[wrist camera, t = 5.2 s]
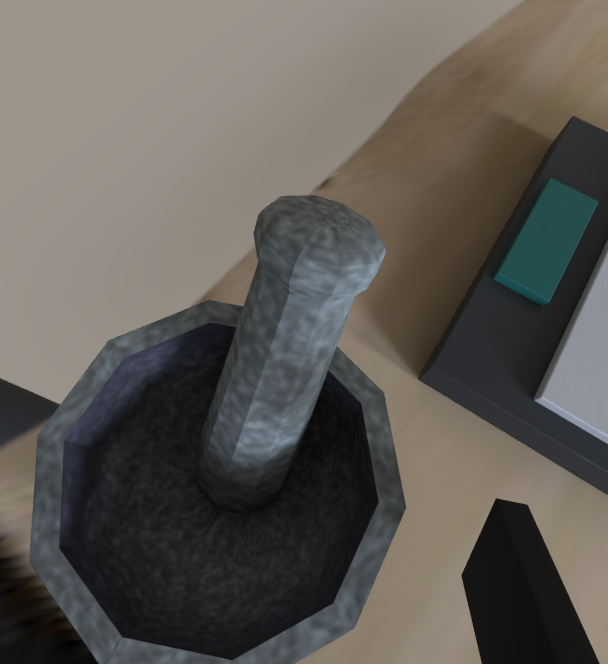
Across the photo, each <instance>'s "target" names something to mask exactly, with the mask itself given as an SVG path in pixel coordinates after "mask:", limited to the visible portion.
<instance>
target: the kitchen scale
mask: <svg viewBox="0 0 608 664" xmlns="http://www.w3.org/2000/svg"><path fill="white" fill-rule="evenodd" d="M418 379H419V380H420V381H422V382H424V383H425V384H427V385H429V386H430V387H432V388H434V389H435V390H437V391H439V392H440V393H442V394H443V395H445V396H447V397H448V398H450V399H452V400H453V401H455V402H457V403H458V404H460V405H461V406H463V407H465V408H466V409H468V410H470V411H471V412H473V413H475V414H476V415H478V416H480V417H481V418H483V419H484V420H486V421H488V422H489V423H491V424H493V425H494V426H496V427H498V428H499V429H501V430H503V431H504V432H506V433H507V434H509V435H511V436H512V437H514V438H516V439H517V440H519V441H521V442H522V443H524V444H525V445H527V446H529V447H530V448H532V449H534V450H535V451H537V452H539V453H540V454H542V455H544V456H545V457H547V458H548V459H550V460H552V461H553V462H555V463H557V464H558V465H560V466H562V467H563V468H565V469H567V470H568V471H570V472H571V473H573V474H575V475H576V476H578V477H580V478H581V479H583V480H585V481H586V482H588V483H589V484H591V485H593V486H594V487H596V488H598V489H599V490H601V491H603V492H604V493H606V494H608V132H606V131H604V130H602V129H599V128H597V127H595V126H593V125H591V124H589V123H587V122H585V121H583V120H581V119H579V118H576V117H574V116H573V117H572V118H571V119H570V120H569V122H568V123H567V124H566V126H565V127H564V128H563V130H562V131H561V132H560V134H559V135H558V136H557V138H556V139H555V140H554V142H553V143H552V145H551V146H550V148H549V150H548V152H547V153H546V155H545V157H544V159H543V160H542V162H541V164H540V166H539V167H538V169H537V171H536V173H535V174H534V176H533V178H532V180H531V181H530V183H529V185H528V187H527V188H526V190H525V192H524V194H523V195H522V197H521V199H520V201H519V202H518V204H517V206H516V208H515V209H514V211H513V213H512V215H511V216H510V218H509V220H508V222H507V223H506V225H505V227H504V229H503V230H502V232H501V234H500V236H499V237H498V239H497V241H496V243H495V244H494V246H493V248H492V250H491V251H490V253H489V255H488V257H487V258H486V260H485V262H484V264H483V265H482V267H481V269H480V271H479V273H478V274H477V276H476V278H475V280H474V281H473V283H472V285H471V287H470V288H469V290H468V292H467V294H466V295H465V297H464V299H463V301H462V302H461V304H460V306H459V308H458V309H457V311H456V313H455V315H454V316H453V318H452V320H451V322H450V323H449V325H448V327H447V329H446V330H445V332H444V334H443V336H442V337H441V339H440V341H439V343H438V344H437V346H436V348H435V350H434V351H433V353H432V355H431V357H430V358H429V360H428V362H427V364H426V365H425V367H424V369H423V371H422V372H421V374H420V376H419V378H418Z"/></svg>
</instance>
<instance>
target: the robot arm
mask: <svg viewBox="0 0 608 664" xmlns="http://www.w3.org/2000/svg"><path fill="white" fill-rule="evenodd" d="M461 576H462V580H463V584H464V589H465V593H466V597H467V602H468V606H469V610H470V614H471V619H472V623H473V627H474V632H475V636H476V640H477V645H478V649H479V653H480V657H481V662H482V664H600V663H599V661H598V659H597V657H596V655H595V652H594V650H593V648H592V646H591V644H590V641H589V639H588V637H587V635H586V633H585V630H584V628H583V626H582V624H581V622H580V619H579V617H578V615H577V613H576V611H575V608H574V606H573V604H572V602H571V600H570V597H569V595H568V593H567V591H566V589H565V586H564V584H563V582H562V580H561V578H560V575H559V573H558V571H557V569H556V567H555V564H554V562H553V560H552V558H551V555H550V553H549V551H548V549H547V547H546V544H545V542H544V540H543V538H542V536H541V533H540V531H539V529H538V527H537V525H536V522H535V520H534V518H533V516H532V514H531V511H530V509H529V507H528V505H526V504H521V503H516V502H511V501H506V500H501V499H497V498H496V500H495V502H494V504H493V506H492V508H491V511H490V513H489V515H488V517H487V520H486V522H485V524H484V526H483V528H482V531H481V533H480V535H479V537H478V540H477V542H476V544H475V546H474V548H473V551H472V553H471V555H470V557H469V560H468V562H467V564H466V566H465V568H464V571H463V573H462V575H461Z"/></svg>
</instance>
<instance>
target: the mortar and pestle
mask: <svg viewBox="0 0 608 664" xmlns="http://www.w3.org/2000/svg"><path fill="white" fill-rule="evenodd" d="M254 240H255V246H256V252H257V258H258V260H259V262H258V265H257V268H256V271H255V274H254V277H253V280H252V283H251V286H250V289H249V292H248V295H247V298H246V301H245V304H244V307H243V306H237V305H232V304H227V303H221V302H216V301H210V300H208V301H205V302H203V303H200V304H198V305H195V306H193V307H191V308H188V309H186V310H183V311H181V312H178V313H176V314H173V315H171V316H168V317H166V318H163V319H161V320H158V321H156V322H154V323H151V324H149V325H146V326H143V327H141V328H138V329H136V330H133V331H131V332H129V333H126V334H124V335H121V336H118V337H116V338H114V339H111V340H109V341H108V342H107V344H106V345H105V346H104V347H103V349H102V350H101V351H100V353H99V354H98V356H97V357H96V358H95V360H94V361H93V362H92V363H91V365H90V366H89V367H88V369H87V370H86V371H85V373H84V374H83V376H82V377H81V378H80V379H79V381H78V382H77V383H76V385H75V386H74V388H73V389H72V390H71V392H70V393H69V394H68V396H67V397H66V398H65V400H64V401H63V402H62V404H61V405H60V406H59V408H58V409H57V410H56V412H55V413H54V414H53V416H52V417H51V418H50V420H49V421H48V422H47V424H46V425H45V426H44V428H43V429H42V430H41V432H40V433H39V434H38V441H37V455H36V470H35V485H34V500H33V515H32V529H31V544H30V559H29V562H30V564H31V565H32V567H33V568H34V570H35V571H36V573H37V574H38V576H39V577H40V578H41V580H42V581H43V583H44V584H45V586H46V587H47V589H48V590H49V592H50V593H51V594H52V596H53V597H54V599H55V600H56V602H57V603H58V605H59V606H60V608H61V609H62V611H63V612H64V613H65V615H66V616H67V618H68V619H69V621H70V622H71V624H72V625H73V627H74V628H75V629H76V631H77V632H78V634H79V635H80V637H81V638H82V640H83V641H84V643H85V644H86V646H87V647H88V648H89V650H90V651H91V653H92V654H93V656H94V657H95V659H96V660H97V662H98V663H99V664H294V663H296V662H297V661H299V660H301V659H303V658H304V657H306V656H308V655H309V654H311V653H313V652H315V651H316V650H318V649H320V648H322V647H323V646H325V645H327V644H328V643H330V642H332V641H334V640H335V639H337V638H339V637H341V636H342V635H344V634H346V633H347V632H349V631H351V630H353V629H354V628H355V626H356V623H357V621H358V619H359V616H360V614H361V612H362V609H363V607H364V605H365V602H366V600H367V598H368V595H369V593H370V591H371V588H372V586H373V584H374V581H375V579H376V577H377V574H378V572H379V570H380V567H381V565H382V563H383V560H384V558H385V556H386V553H387V551H388V549H389V546H390V544H391V542H392V539H393V537H394V535H395V532H396V530H397V528H398V525H399V523H400V521H401V518H402V516H403V514H404V511H405V509H406V505H405V499H404V494H403V489H402V484H401V479H400V474H399V469H398V464H397V458H396V453H395V448H394V443H393V438H392V433H391V428H390V423H389V417H388V412H387V407H386V402H385V397H384V393H383V392H382V391H381V390H380V389H379V388H378V387H377V386H376V385H375V384H374V383H373V382H372V381H371V380H370V379H369V378H368V377H367V376H366V375H365V374H364V373H363V372H362V371H361V370H360V369H359V368H358V367H357V366H356V365H355V364H354V363H353V362H352V361H351V360H350V359H349V358H348V357H347V356H346V355H345V354H344V353H343V352H342V351H341V350H340V349H339V348H338V347H337V344H338V341H339V338H340V336H341V333H342V330H343V328H344V325H345V322H346V319H347V317H348V314H349V311H350V308H351V306H352V303H353V300H354V298H355V296H356V295H358V294H360V293H362V292H363V291H365V290H367V288H368V286H369V285H370V283H371V282H372V280H373V278H374V277H375V275H376V274H377V272H378V270H379V268H380V265H381V263H382V261H383V258H384V256H385V254H386V249H385V245H384V244H383V242H382V240H381V238H380V236H379V234H378V233H377V231H376V229H375V227H374V225H373V224H371V223H370V222H369V221H368V220H367V219H365V218H364V217H362V216H361V215H359V214H358V213H356V212H355V211H353V210H352V209H350V208H349V207H347V206H346V205H344V204H341V203H337V202H334V201H331V200H328V199H325V198H322V197H318V196H281V197H280V198H278V199H277V200H275V201H274V202H273V203H271V204H270V205H269V206H267V207H266V208H264V209H263V210H262V211H261V212H260V213H259V215H258V219H257V223H256V226H255V230H254Z"/></svg>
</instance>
